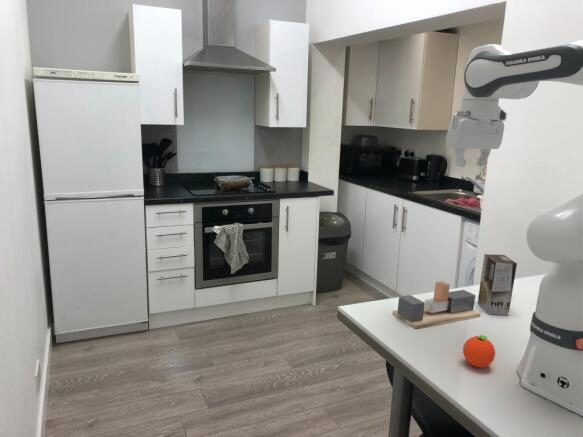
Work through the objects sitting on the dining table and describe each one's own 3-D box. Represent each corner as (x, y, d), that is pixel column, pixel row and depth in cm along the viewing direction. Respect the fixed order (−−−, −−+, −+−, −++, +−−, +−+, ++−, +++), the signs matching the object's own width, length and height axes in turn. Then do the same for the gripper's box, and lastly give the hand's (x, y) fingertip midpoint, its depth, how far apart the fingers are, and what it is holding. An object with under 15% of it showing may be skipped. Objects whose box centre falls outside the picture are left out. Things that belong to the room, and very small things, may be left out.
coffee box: (509, 315, 140) (518, 263, 136) (487, 314, 140) (495, 262, 136) (497, 303, 149) (504, 254, 145) (476, 302, 149) (483, 253, 145)
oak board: (480, 316, 138) (480, 313, 138) (415, 328, 128) (416, 325, 127) (454, 303, 147) (455, 300, 147) (392, 314, 136) (392, 311, 136)
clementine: (468, 353, 116) (472, 326, 114) (498, 363, 112) (502, 335, 110) (456, 365, 110) (460, 336, 108) (487, 376, 106) (492, 347, 104)
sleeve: (473, 309, 140) (475, 295, 139) (450, 313, 136) (452, 298, 135) (461, 303, 144) (463, 289, 143) (439, 307, 140) (441, 293, 139)
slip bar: (470, 306, 141) (474, 281, 139) (431, 313, 134) (434, 287, 132) (462, 302, 143) (466, 277, 141) (423, 309, 136) (427, 283, 135)
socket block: (422, 320, 131) (424, 302, 130) (411, 322, 129) (413, 304, 128) (408, 311, 136) (410, 294, 135) (397, 313, 134) (399, 296, 133)
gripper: (465, 110, 112) (458, 168, 115) (510, 114, 125) (502, 166, 128) (443, 109, 117) (436, 165, 120) (488, 113, 130) (481, 164, 133)
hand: (471, 166), depth 124 cm, fingers open, 8 cm apart
